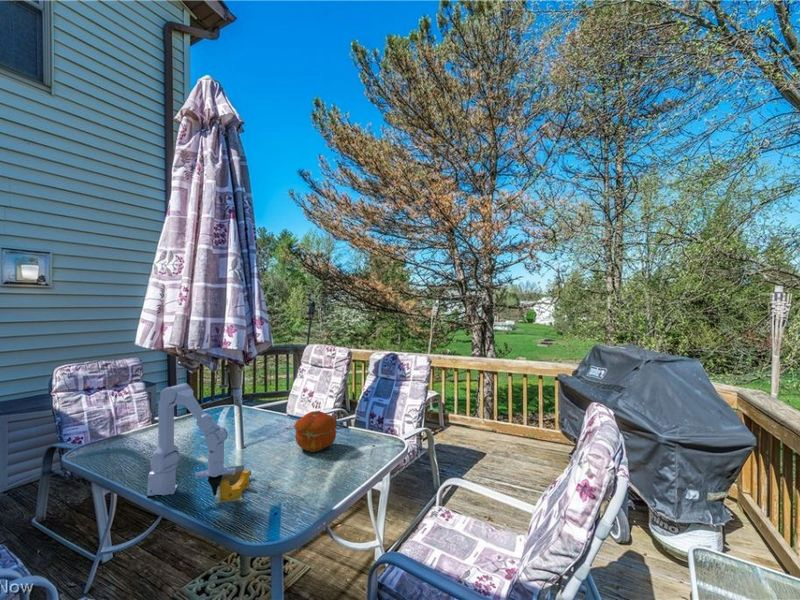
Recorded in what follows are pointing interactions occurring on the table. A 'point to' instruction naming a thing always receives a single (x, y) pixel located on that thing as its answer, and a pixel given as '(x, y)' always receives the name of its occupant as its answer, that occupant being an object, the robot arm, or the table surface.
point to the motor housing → (232, 481)
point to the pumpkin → (315, 431)
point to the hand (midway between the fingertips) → (215, 494)
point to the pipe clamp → (234, 486)
